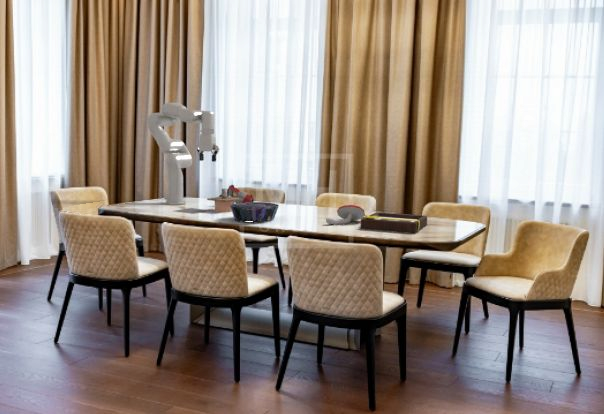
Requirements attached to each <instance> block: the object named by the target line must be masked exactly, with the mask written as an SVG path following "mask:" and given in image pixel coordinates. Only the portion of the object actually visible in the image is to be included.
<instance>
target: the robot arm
mask: <svg viewBox="0 0 604 414" xmlns="http://www.w3.org/2000/svg"><path fill="white" fill-rule="evenodd" d="M177 121H181V122H184V123H188V124H200V127H201V128H200V134H199V139H198V145H196V146H195V149H196V152H197V153H198V154H199V159H198V160H199V161H201V162H202V161H204V158H205V157H204V153H205V152H211V154H212V155H211V162H214V163H215V162H216V161H217V156H218V153H219V152H220V146H218V145H217V141H216V134H215V112H214V111H213V110H212V111H211V110H198V109H197V110H195V109H194V110H192V109H188V108H187V107H186V106H185V105H183V104H182V103H180V102H166V103H164V104H162V107H161V112H153V113H150V114H149V115H148V117H147V120H146V125H147V129H148V131H149V133H150V134H151V135H152V137H153V138H154V140H155V142H156V144H157V145H158V147H159V148H160V150H161V152H162V154H163V155H167V156H166V158H165V165H166V171H167V195H166V196H165V197H163V200H166V201H165V202H164V203H165V204H166V205H169V206H170V205H171V206H178V205H179V206H180V205H185V204H186V203H187V202H186V201H185V200H184V175H183V172H182V170H181V169H186V168H189V167H192V165H193V157H192V155H191V152H189V149H188V148H187V146H186V143H184V141H182V140H181V139H179V138H171V137H170V135H169V133H168V132H167V131H166V130H165V129H164V128H162V127H171V126H173V125H175V124H176V122H177Z"/></svg>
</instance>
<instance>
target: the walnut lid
mask: <svg viewBox="0 0 604 414" xmlns="http://www.w3.org/2000/svg"><path fill="white" fill-rule="evenodd" d="M227 189H228V188H221V194H222V197H219V196H216V197H215V196H214V197H208V198H206V201H213V202H215V201H221V202H230V201H236V200H241V198H234V197H231V196H229V197H227Z"/></svg>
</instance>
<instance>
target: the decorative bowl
mask: <svg viewBox="0 0 604 414" xmlns="http://www.w3.org/2000/svg"><path fill="white" fill-rule="evenodd" d="M229 206H230V207H231V210H232V212H231V213H232V216H233V218H234V220H235V219H236V220H235V221H237V220H238V222H240V221H253V222H261V223H264V222H263V221H269V222H272V221H274V220H275V217H276V214H277V211H278V209H279V206H280V205H279V203H278V204H277V203H275V202H274V203H272V202H264V201H254V202H246V203H235V202H234V204H231V205H229ZM271 220H272V221H271Z"/></svg>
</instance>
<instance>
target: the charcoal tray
mask: <svg viewBox="0 0 604 414" xmlns="http://www.w3.org/2000/svg"><path fill="white" fill-rule="evenodd" d="M211 211H212V210H210V209H202V208H201V209H200V208H193V207H190V208H182V209H178V210H177V209H176V210H174V212H176V213H185V214H191V215H192V214H194V215H196V214H199V213H205V212H211Z"/></svg>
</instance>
